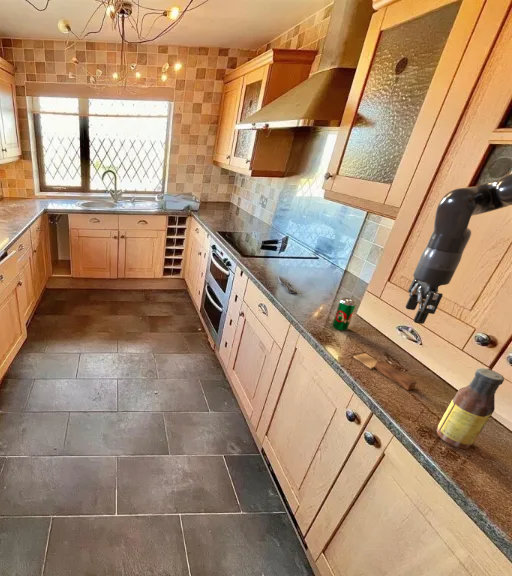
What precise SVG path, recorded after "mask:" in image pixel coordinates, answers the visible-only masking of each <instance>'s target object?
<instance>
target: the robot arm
mask: <svg viewBox="0 0 512 576" xmlns="http://www.w3.org/2000/svg"><path fill="white" fill-rule="evenodd" d="M509 206H512V173H510V174H507V175H504V176H502V177H501V178H499V179H497V180H492V181H490V182H486V183H482V184H478V185H475V186H468V187H467V186H466V187H459V188H455V189H453V190H450V191H449V192H447V193H446V194H445V195H444V196H442V198H441V200H440V201H439V203H438V205H437V208H436V211H435V212H436V213H435V216H434V217H435V218H434V222H433V223H434V225H433V232H432V234H431V236H430V238H429V240H428V242H427V245H426V247H425V248H424V250H423V251H422V253H421V256H420V258H419V260H418V263H417V265H416V267H415V270H414V272H413V274H412V276H413V279H412V281H411V284H410V286H409V288H408V290H407V292H408V293H409V294H408V297H409V298H408V300H407V302H406V304H405V309H406V310H410V311H415V310H416V309H417V306H418V309H417V312H416V313H415V315H414V317H413V320H412V321H413V322H414V323H415V324H421V325H423V324H425V322H426V320H427V318H428V316H429V314H430V315H435V313H436V311H437V309H438V307H439V305H440V303H441V300H442V298H443V293H440V292H439V288H440V287H441V286H446V285H449V284H450V283H451V281H452V279H453V277H454V274H455V272H456V270H457V269H458V266H459V265H460V262H461V260H462V257H463V254H464V252H465V249H466V247H467V245H468V243H469V241H470V239H471V236H472V231H471V229H470V228H469V224H470V220H471V219H472V216H477V215H481V214H485V213H489V212H492V211H496V210H499V209H504V208H506V207H509Z"/></svg>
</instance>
